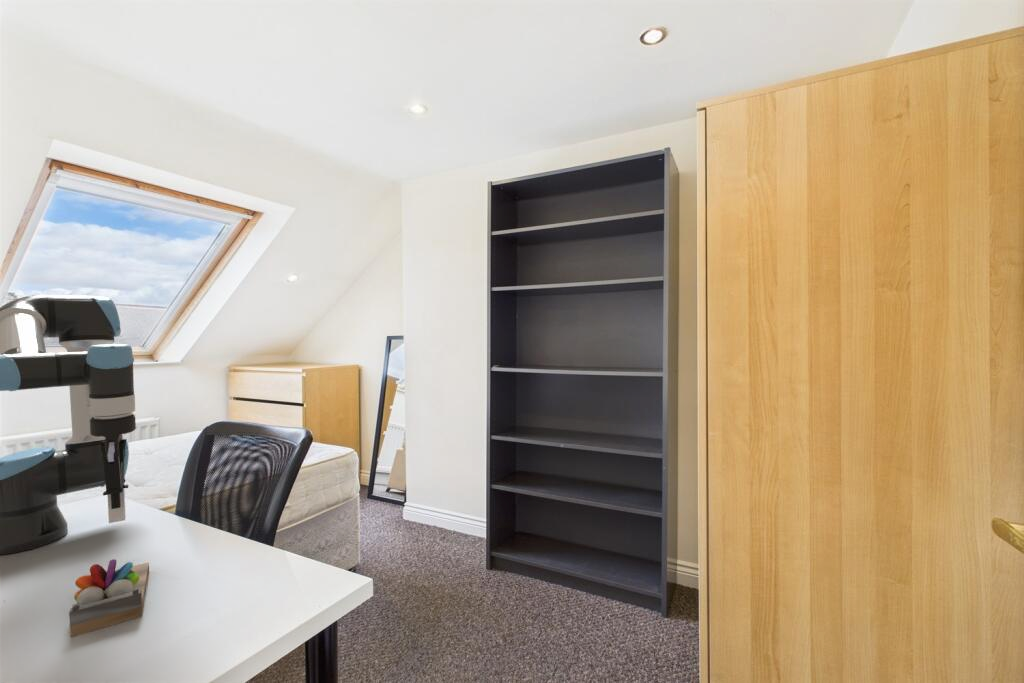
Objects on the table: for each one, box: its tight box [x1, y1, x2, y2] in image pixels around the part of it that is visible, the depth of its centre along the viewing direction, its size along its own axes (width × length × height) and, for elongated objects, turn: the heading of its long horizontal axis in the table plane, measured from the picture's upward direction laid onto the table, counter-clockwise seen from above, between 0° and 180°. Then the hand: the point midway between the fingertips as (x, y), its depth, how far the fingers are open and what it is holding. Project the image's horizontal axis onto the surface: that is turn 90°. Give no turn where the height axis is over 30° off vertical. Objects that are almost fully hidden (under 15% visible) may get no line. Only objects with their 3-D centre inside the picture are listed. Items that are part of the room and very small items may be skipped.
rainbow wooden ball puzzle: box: [73, 558, 139, 606], centre depth 91 cm, size 8×10×7 cm
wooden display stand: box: [68, 562, 150, 638], centre depth 93 cm, size 20×10×5 cm, turn 35°
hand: (117, 520), depth 102 cm, fingers closed
